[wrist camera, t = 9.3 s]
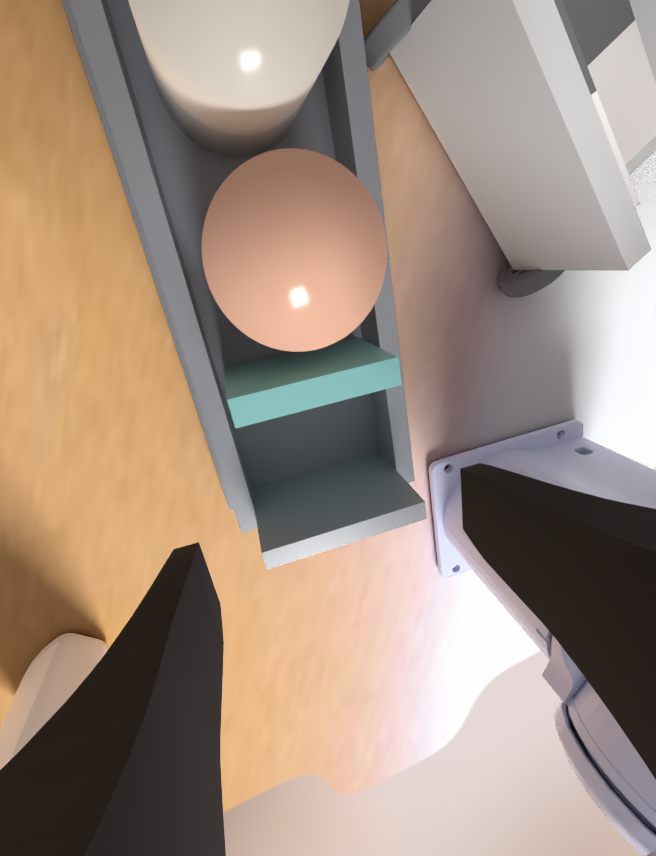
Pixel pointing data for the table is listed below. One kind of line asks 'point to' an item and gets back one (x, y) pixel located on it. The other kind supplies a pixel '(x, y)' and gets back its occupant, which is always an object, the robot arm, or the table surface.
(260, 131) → the jar
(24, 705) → the eye dropper bottle
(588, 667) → the robot arm
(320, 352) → the block
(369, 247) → the jar
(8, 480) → the table surface
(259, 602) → the table surface
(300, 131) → the lane
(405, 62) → the toy car
